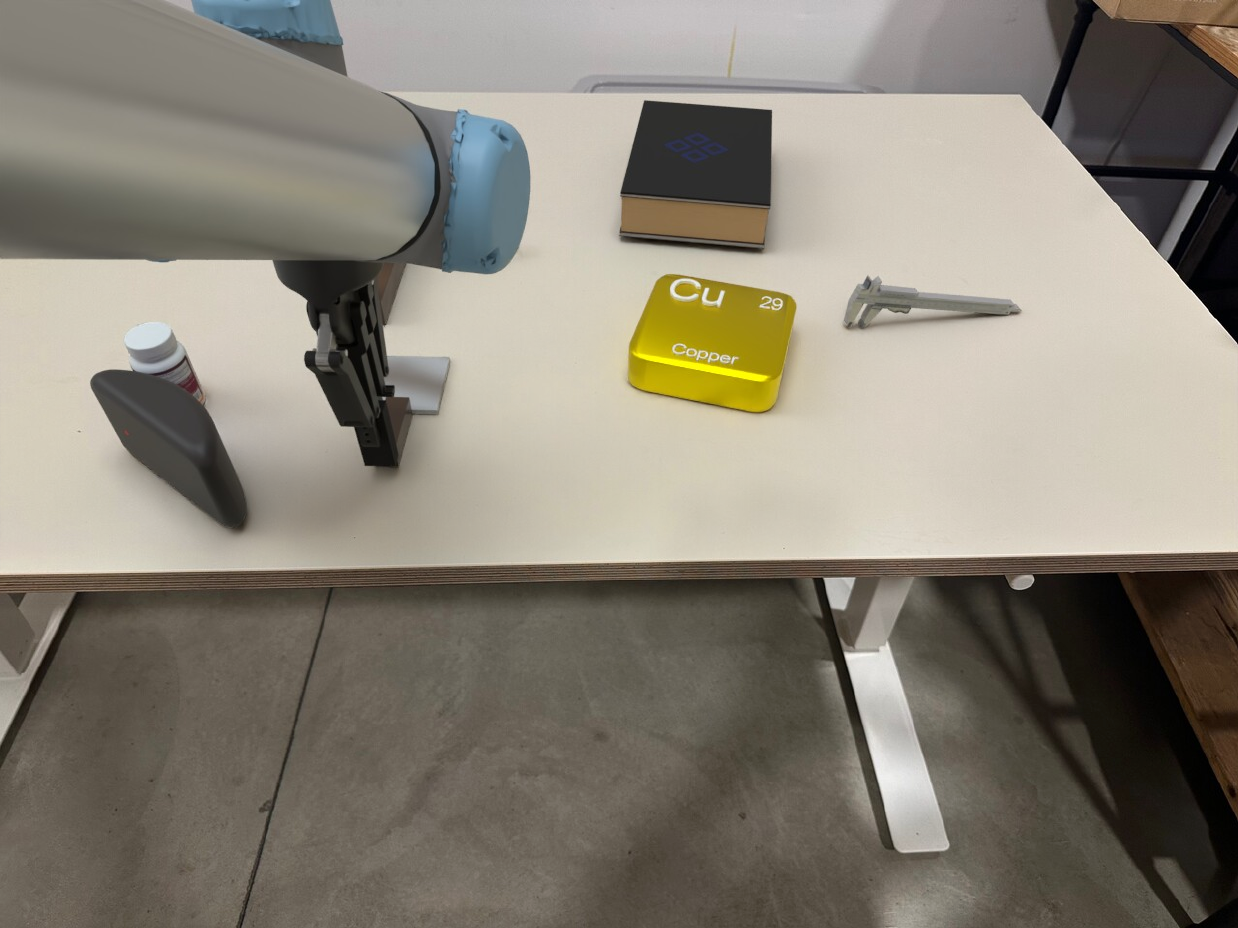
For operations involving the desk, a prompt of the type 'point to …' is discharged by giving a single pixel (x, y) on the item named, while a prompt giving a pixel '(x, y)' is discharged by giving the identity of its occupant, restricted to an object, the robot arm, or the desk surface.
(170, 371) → the pill bottle
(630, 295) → the desk surface
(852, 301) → the caliper
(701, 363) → the element tile
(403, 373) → the spatula
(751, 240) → the book
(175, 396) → the leaning round-cornered charcoal block
